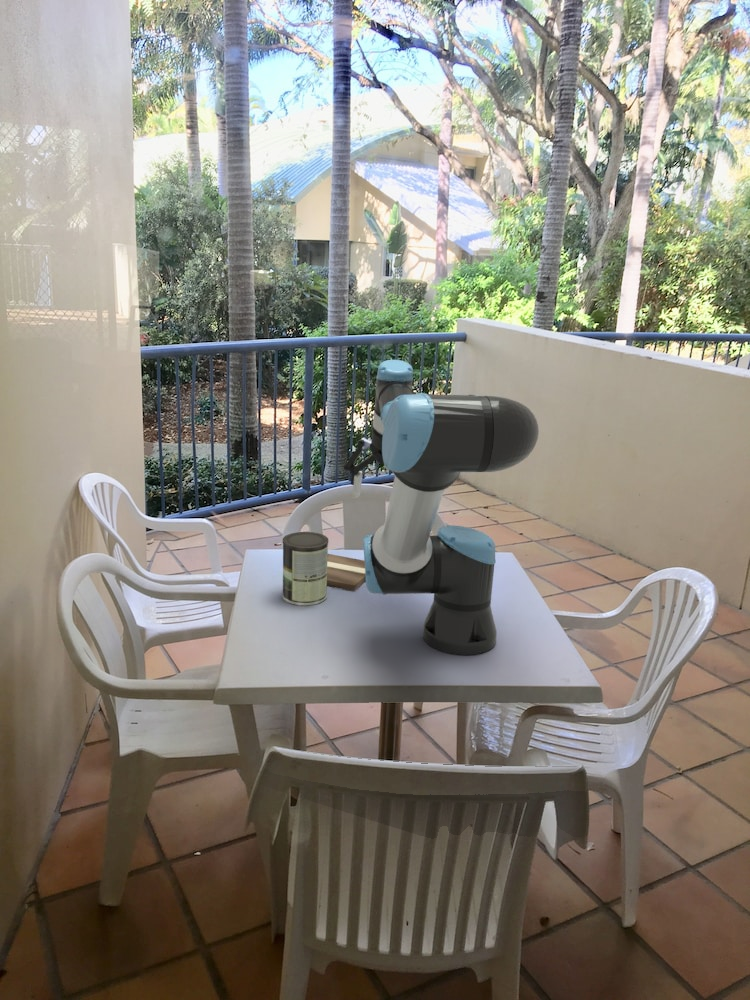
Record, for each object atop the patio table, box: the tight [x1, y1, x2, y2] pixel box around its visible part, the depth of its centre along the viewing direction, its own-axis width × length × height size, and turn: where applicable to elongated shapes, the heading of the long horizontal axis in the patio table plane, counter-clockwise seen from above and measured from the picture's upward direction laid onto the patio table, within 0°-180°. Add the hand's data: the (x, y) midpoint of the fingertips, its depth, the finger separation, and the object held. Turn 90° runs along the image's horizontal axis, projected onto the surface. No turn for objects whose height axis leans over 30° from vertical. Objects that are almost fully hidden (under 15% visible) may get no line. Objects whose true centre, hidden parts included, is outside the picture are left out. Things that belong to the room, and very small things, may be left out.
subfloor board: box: [327, 553, 366, 592], centre depth 185 cm, size 16×18×2 cm
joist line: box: [327, 561, 365, 574], centre depth 186 cm, size 3×18×1 cm, turn 68°
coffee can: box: [282, 531, 329, 607], centre depth 169 cm, size 10×10×14 cm
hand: (381, 505), depth 177 cm, fingers open, 13 cm apart
